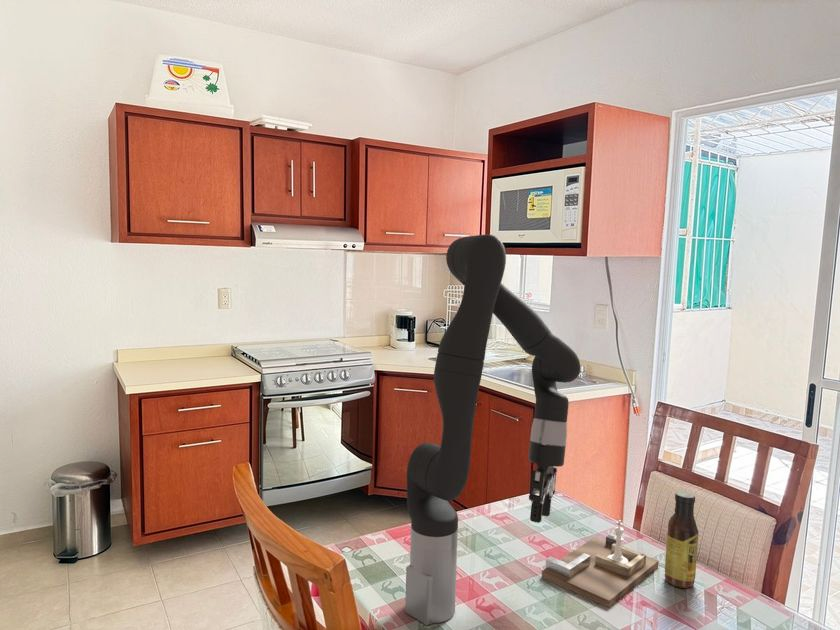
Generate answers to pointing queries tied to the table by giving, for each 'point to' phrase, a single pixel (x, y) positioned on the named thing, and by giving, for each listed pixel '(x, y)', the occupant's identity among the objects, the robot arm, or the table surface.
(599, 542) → the socket board
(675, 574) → the sauce bottle
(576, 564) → the keeper bolt
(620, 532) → the chess piece
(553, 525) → the table surface
